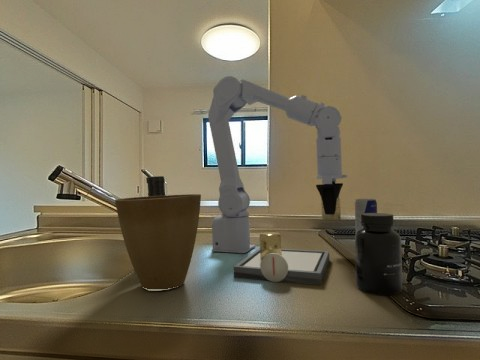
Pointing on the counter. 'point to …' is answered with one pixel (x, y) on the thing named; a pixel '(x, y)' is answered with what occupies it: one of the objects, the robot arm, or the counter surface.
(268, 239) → the cylinder
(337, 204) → the cylinder
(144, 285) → the plant pot
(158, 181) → the sauce bottle
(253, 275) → the scale
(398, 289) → the supplement bottle
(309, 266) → the pan
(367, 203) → the energy drink
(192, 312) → the counter surface
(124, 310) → the counter surface
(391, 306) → the counter surface
